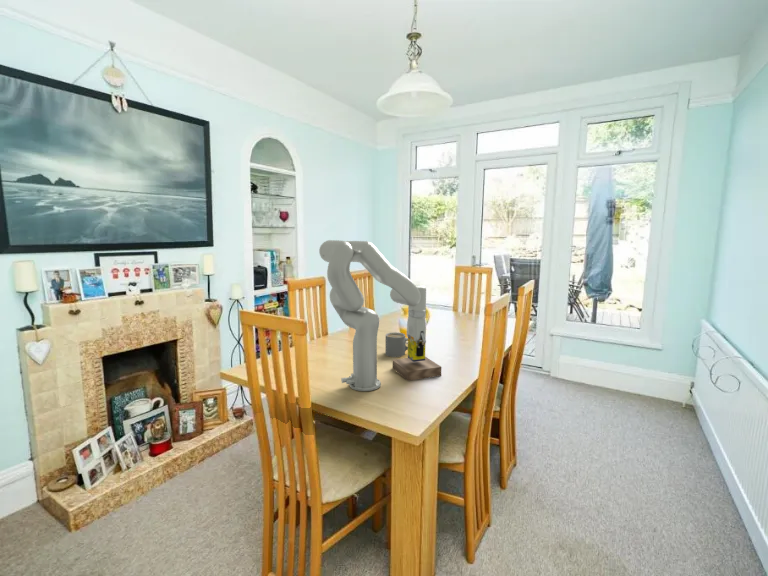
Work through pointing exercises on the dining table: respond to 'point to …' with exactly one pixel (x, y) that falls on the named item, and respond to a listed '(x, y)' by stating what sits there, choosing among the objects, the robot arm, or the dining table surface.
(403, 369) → the walnut base
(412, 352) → the supplement box
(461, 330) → the dining table surface
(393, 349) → the coffee mug
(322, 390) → the dining table surface
